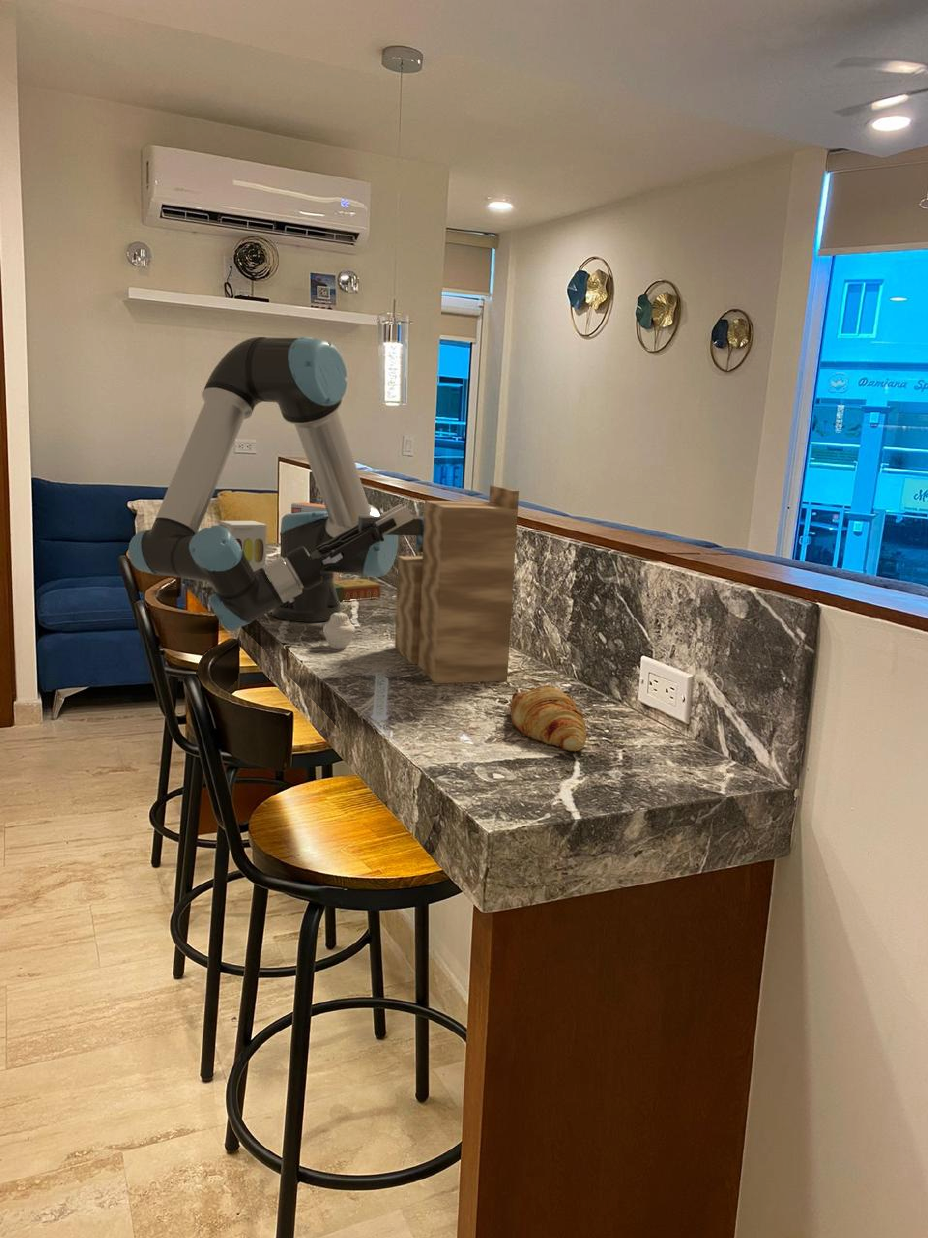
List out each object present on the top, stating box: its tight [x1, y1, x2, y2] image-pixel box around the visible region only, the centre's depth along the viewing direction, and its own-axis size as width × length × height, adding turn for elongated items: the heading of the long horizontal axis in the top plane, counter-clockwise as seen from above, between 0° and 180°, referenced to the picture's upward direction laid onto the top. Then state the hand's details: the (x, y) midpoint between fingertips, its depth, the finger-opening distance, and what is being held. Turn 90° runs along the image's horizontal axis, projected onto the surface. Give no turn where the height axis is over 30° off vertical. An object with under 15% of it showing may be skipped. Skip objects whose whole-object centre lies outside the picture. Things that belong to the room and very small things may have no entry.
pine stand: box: [394, 485, 520, 684], centre depth 170 cm, size 26×14×33 cm, turn 17°
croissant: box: [509, 685, 587, 752], centre depth 137 cm, size 21×10×8 cm, turn 22°
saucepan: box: [358, 515, 424, 553], centre depth 173 cm, size 10×21×6 cm, turn 107°
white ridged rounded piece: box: [322, 612, 356, 650], centre depth 181 cm, size 6×6×7 cm
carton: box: [334, 578, 381, 601], centre depth 230 cm, size 8×16×4 cm, turn 127°
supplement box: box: [218, 520, 267, 571], centre depth 234 cm, size 10×9×17 cm
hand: (406, 511), depth 172 cm, fingers closed on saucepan, 3 cm apart
